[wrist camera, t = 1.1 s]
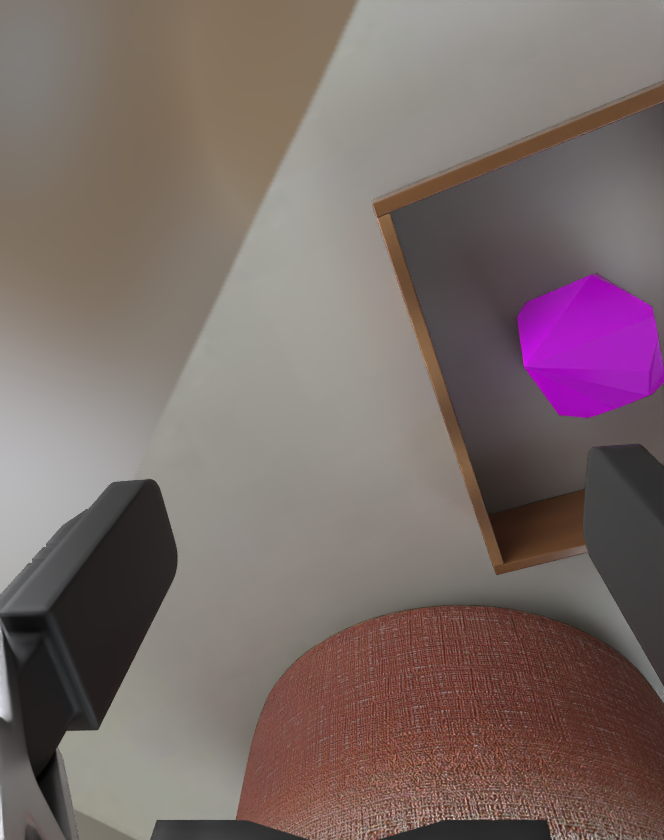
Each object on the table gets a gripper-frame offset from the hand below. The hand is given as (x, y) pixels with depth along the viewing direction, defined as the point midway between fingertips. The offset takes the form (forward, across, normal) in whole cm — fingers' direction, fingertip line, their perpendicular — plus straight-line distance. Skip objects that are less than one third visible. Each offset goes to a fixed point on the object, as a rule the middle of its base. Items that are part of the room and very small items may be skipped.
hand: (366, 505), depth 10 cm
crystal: (+16, -9, +2) cm, 18 cm away
